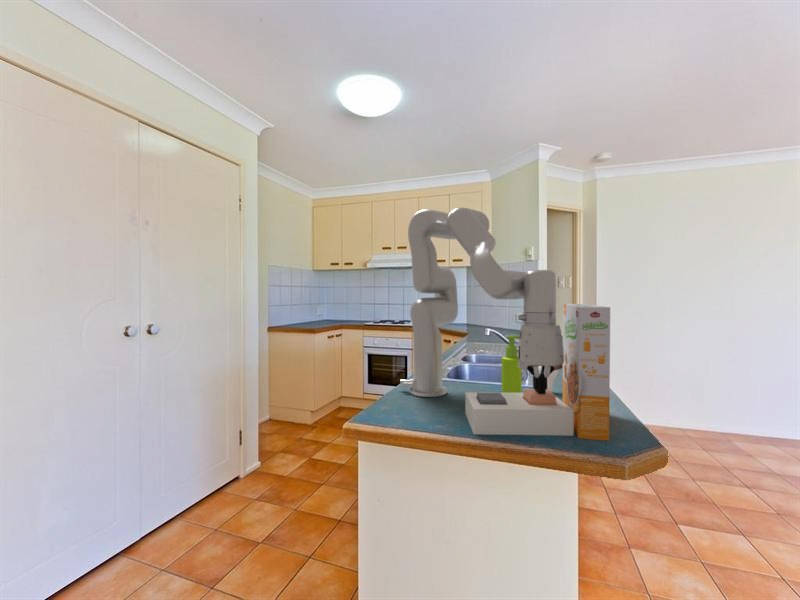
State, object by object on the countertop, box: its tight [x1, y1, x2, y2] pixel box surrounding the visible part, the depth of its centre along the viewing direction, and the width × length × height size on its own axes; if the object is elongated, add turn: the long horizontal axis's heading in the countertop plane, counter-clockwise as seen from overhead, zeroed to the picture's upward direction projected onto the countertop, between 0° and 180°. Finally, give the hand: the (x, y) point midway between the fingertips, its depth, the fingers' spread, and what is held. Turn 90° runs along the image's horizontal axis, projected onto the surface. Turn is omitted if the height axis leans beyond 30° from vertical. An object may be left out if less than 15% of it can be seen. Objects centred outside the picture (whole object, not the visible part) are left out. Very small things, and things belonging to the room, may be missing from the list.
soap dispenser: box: [501, 334, 523, 393], centre depth 110 cm, size 6×7×20 cm
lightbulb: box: [538, 366, 560, 392], centre depth 118 cm, size 6×6×11 cm
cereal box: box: [561, 303, 611, 442], centre depth 91 cm, size 22×6×30 cm, turn 164°
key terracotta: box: [522, 388, 557, 405], centre depth 90 cm, size 6×6×4 cm
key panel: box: [464, 391, 575, 437], centre depth 90 cm, size 23×14×6 cm, turn 88°
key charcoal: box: [477, 392, 506, 405], centre depth 90 cm, size 6×6×4 cm
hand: (540, 392), depth 90 cm, fingers closed
